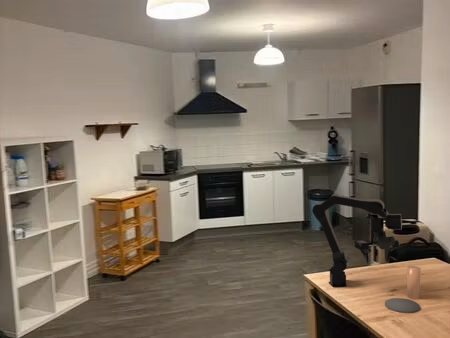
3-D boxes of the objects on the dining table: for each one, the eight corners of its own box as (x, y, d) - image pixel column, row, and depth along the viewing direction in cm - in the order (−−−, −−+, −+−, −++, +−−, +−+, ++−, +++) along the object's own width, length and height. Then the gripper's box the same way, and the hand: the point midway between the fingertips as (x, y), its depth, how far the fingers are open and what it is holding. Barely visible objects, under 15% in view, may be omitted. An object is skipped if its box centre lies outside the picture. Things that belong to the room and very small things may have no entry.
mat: (395, 314, 173) (395, 312, 173) (379, 301, 186) (379, 299, 186) (426, 311, 175) (426, 309, 175) (407, 298, 188) (407, 296, 188)
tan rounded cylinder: (411, 299, 187) (411, 270, 186) (404, 295, 192) (404, 266, 191) (422, 298, 188) (423, 269, 186) (415, 293, 193) (416, 265, 192)
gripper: (366, 234, 188) (366, 270, 189) (406, 230, 191) (406, 266, 192) (353, 228, 199) (354, 262, 200) (392, 225, 202) (392, 259, 203)
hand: (376, 262), depth 199 cm, fingers open, 9 cm apart
